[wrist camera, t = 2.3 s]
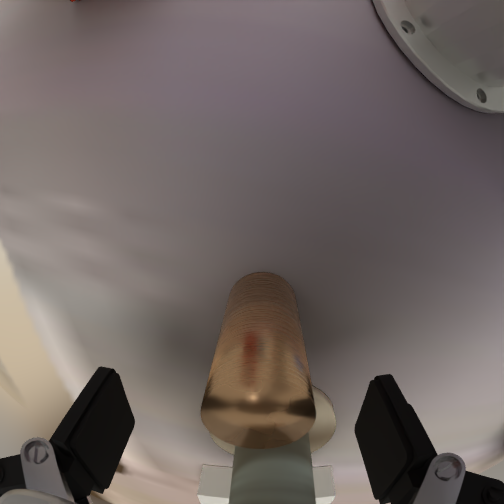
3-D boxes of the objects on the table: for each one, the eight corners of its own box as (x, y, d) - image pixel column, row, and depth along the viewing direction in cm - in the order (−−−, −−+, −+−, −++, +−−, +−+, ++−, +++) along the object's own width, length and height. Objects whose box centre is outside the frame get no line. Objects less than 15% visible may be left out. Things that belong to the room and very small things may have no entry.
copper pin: (227, 271, 15) (194, 376, 7) (297, 272, 15) (324, 380, 7) (229, 330, 16) (206, 445, 9) (293, 331, 16) (307, 448, 8)
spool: (205, 375, 17) (169, 517, 8) (344, 376, 17) (381, 514, 7) (215, 448, 20) (198, 551, 10) (322, 449, 20) (335, 551, 10)
